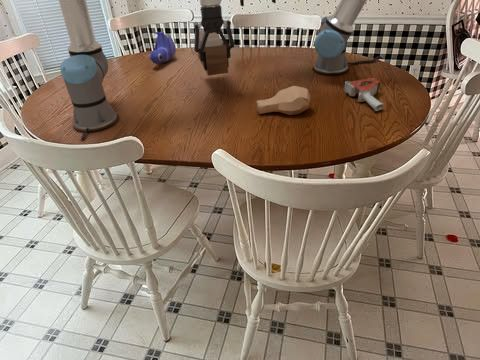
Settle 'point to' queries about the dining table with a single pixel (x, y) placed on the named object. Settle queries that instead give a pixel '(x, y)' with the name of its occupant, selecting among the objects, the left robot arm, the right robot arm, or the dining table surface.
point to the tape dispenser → (365, 91)
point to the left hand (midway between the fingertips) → (216, 67)
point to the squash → (286, 101)
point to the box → (214, 54)
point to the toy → (162, 49)
